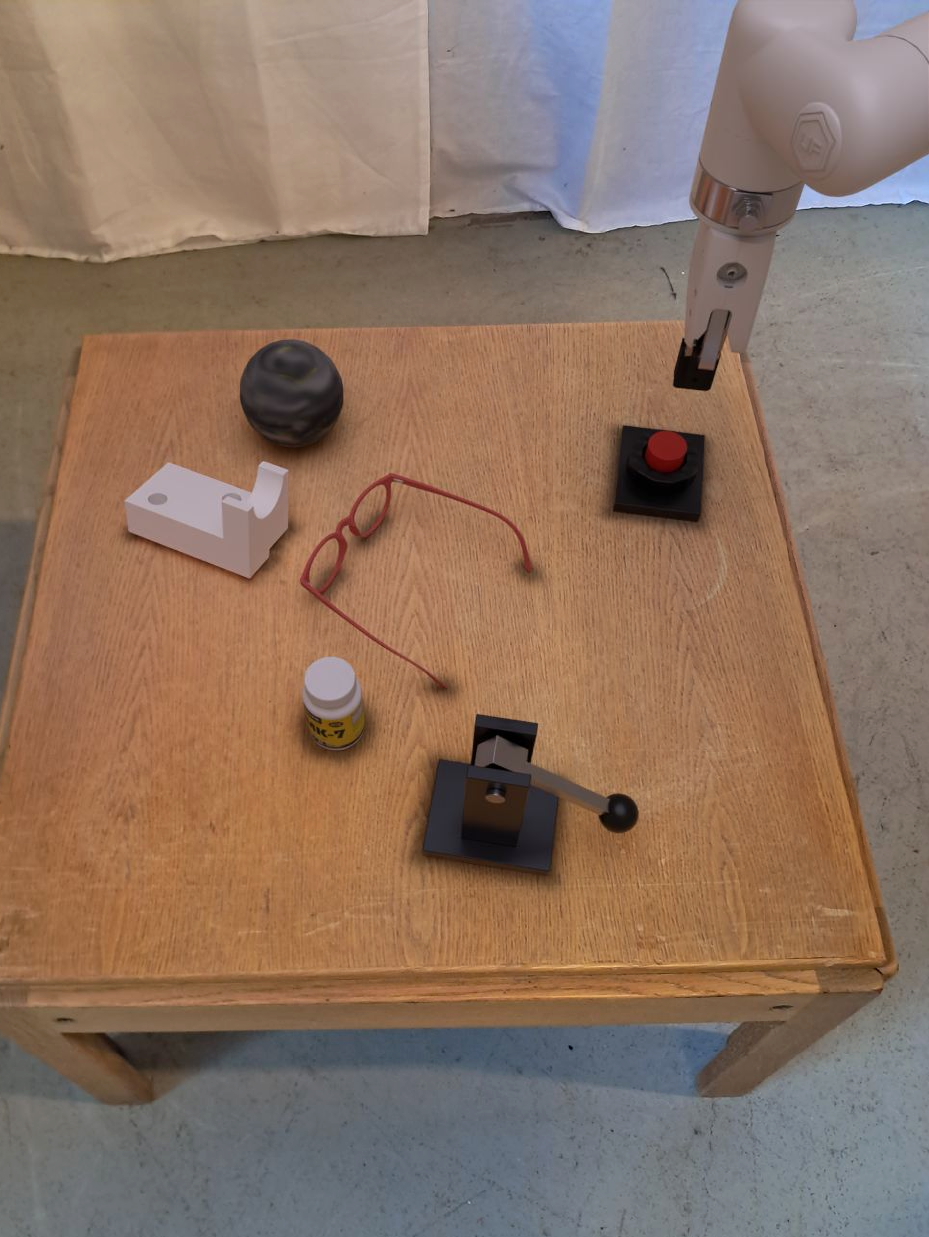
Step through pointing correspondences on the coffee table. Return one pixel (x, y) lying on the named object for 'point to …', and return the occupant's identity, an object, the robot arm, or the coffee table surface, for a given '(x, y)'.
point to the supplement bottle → (333, 703)
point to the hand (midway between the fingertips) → (691, 382)
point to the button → (665, 451)
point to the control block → (658, 478)
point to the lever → (559, 784)
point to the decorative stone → (291, 393)
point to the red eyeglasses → (354, 530)
